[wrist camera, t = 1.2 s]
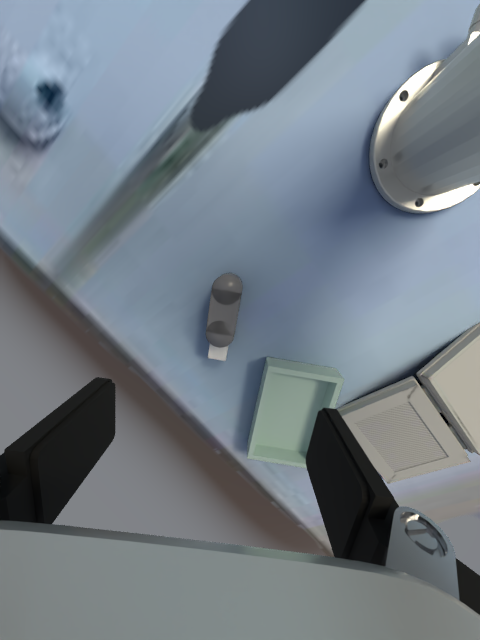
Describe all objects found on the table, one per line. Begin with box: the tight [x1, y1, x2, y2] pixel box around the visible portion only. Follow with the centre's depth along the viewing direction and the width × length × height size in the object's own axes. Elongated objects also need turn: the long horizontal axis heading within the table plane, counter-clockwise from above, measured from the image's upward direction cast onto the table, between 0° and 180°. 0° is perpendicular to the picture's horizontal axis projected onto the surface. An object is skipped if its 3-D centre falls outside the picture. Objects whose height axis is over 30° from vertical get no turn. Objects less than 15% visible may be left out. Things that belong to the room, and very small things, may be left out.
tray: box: [247, 357, 344, 468], centre depth 30 cm, size 14×9×3 cm, turn 170°
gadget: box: [337, 323, 480, 483], centre depth 29 cm, size 23×15×4 cm, turn 129°
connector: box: [206, 273, 243, 361], centre depth 26 cm, size 10×3×4 cm, turn 170°
